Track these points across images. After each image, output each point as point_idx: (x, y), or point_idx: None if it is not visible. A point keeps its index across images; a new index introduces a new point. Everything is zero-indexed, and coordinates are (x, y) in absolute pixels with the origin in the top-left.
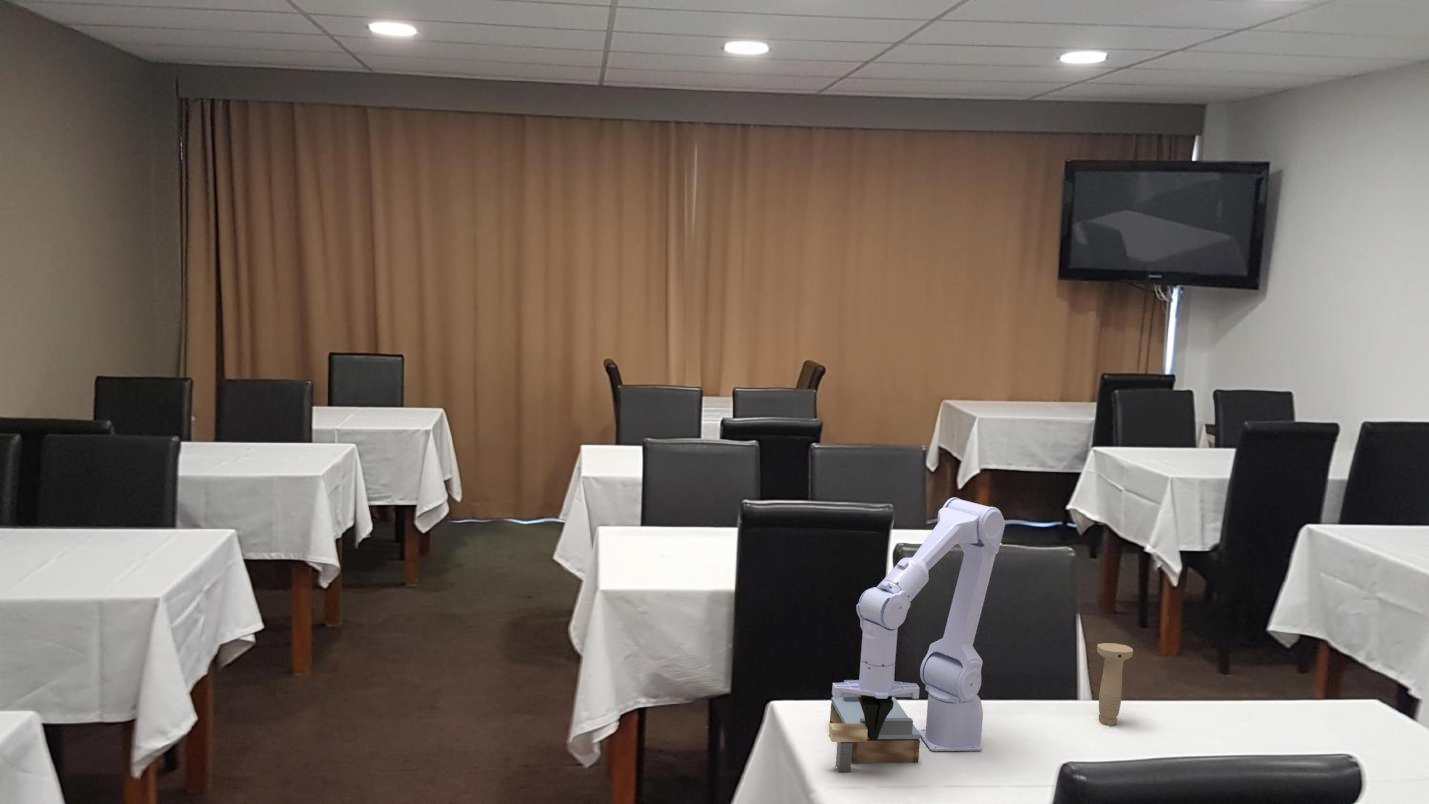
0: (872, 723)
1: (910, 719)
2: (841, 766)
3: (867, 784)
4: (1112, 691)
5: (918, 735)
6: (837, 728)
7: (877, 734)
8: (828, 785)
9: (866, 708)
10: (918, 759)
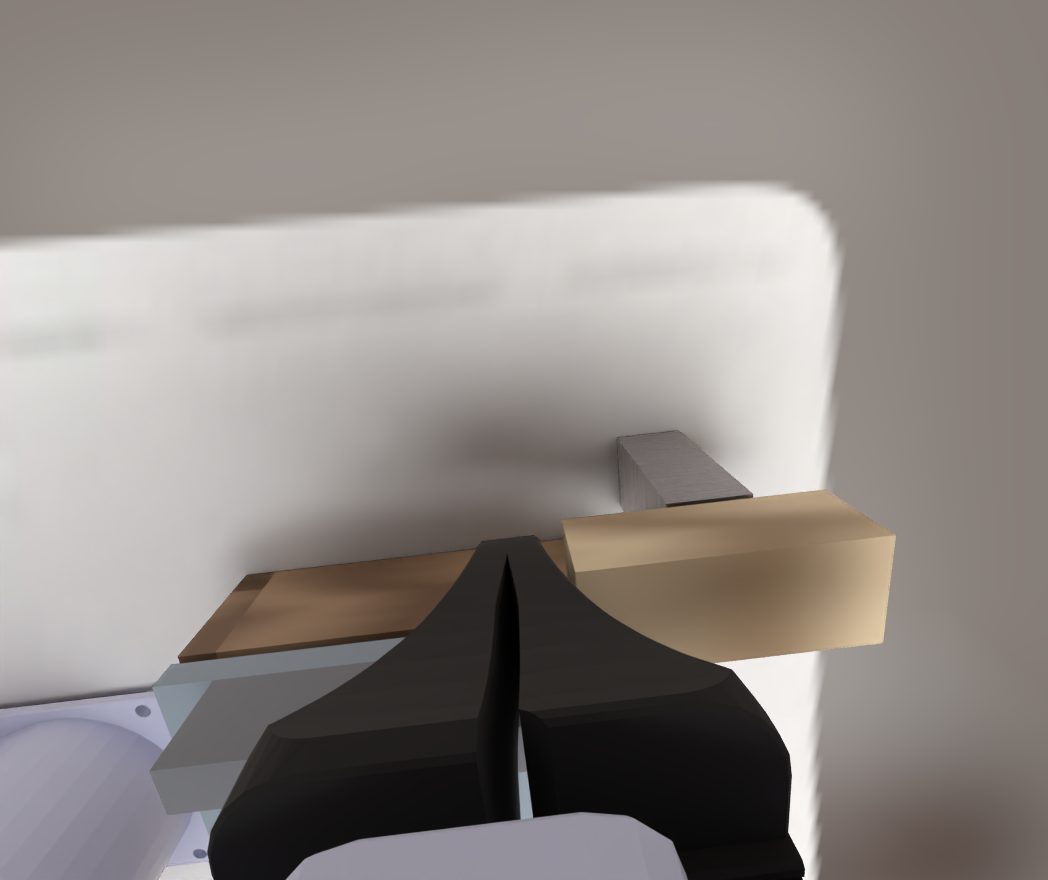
0: (546, 593)
1: (172, 787)
2: (677, 442)
3: (549, 311)
4: None
5: (169, 680)
6: (845, 559)
7: (483, 553)
8: (767, 280)
9: (712, 669)
10: (238, 584)
